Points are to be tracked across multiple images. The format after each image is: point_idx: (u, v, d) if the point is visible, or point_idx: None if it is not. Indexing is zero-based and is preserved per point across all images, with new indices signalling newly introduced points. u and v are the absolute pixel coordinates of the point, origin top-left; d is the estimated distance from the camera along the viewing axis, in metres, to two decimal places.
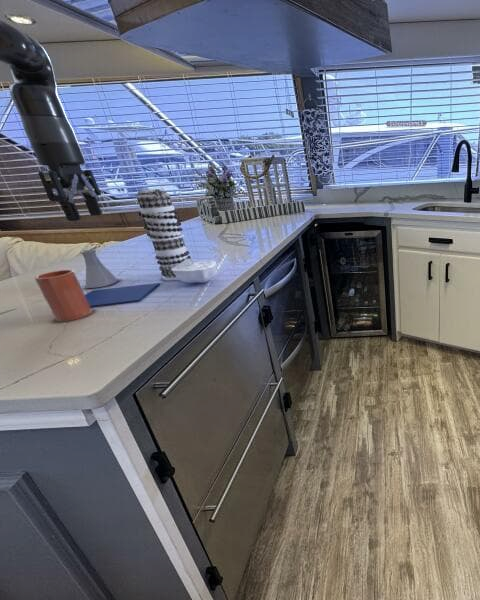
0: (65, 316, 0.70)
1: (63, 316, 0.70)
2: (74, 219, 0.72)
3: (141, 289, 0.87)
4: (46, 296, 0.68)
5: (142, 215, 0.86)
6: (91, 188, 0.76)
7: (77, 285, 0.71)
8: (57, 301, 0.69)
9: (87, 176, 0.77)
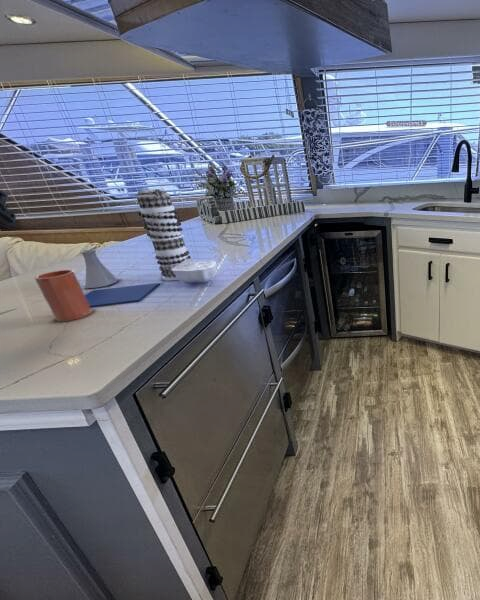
0: (65, 316, 0.70)
1: (63, 316, 0.70)
2: None
3: (141, 289, 0.87)
4: (46, 296, 0.68)
5: (142, 215, 0.86)
6: None
7: (77, 285, 0.71)
8: (57, 301, 0.69)
9: None
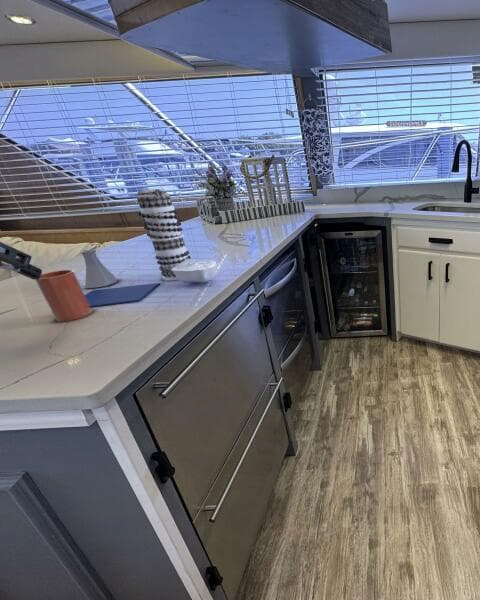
0: (65, 316, 0.70)
1: (63, 316, 0.70)
2: None
3: (141, 289, 0.87)
4: (46, 296, 0.68)
5: (142, 215, 0.86)
6: None
7: (77, 285, 0.71)
8: (57, 301, 0.69)
9: None
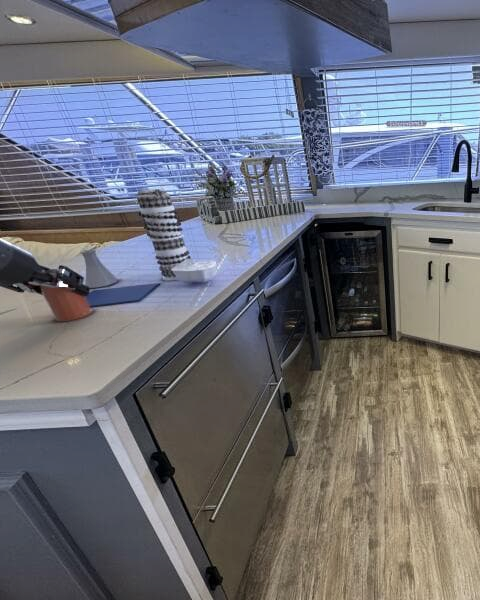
0: (65, 316, 0.70)
1: (63, 316, 0.70)
2: None
3: (141, 289, 0.87)
4: (46, 296, 0.68)
5: (142, 215, 0.86)
6: (54, 287, 0.66)
7: None
8: (57, 301, 0.69)
9: None
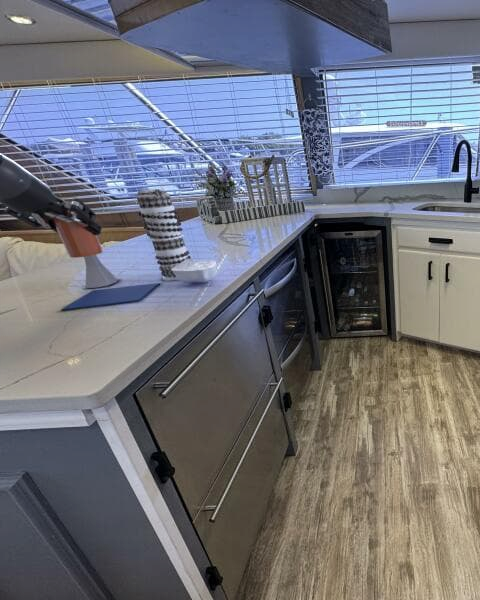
0: (78, 252, 0.73)
1: (76, 252, 0.73)
2: None
3: (141, 289, 0.87)
4: (60, 231, 0.71)
5: (142, 215, 0.86)
6: (68, 221, 0.70)
7: None
8: (71, 236, 0.72)
9: None
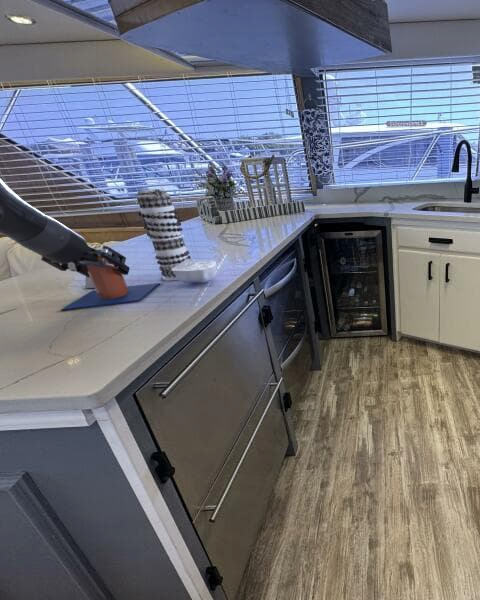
0: (108, 294, 0.80)
1: (106, 294, 0.80)
2: None
3: (141, 289, 0.87)
4: (92, 277, 0.78)
5: (142, 215, 0.86)
6: (101, 266, 0.76)
7: None
8: (102, 281, 0.79)
9: None
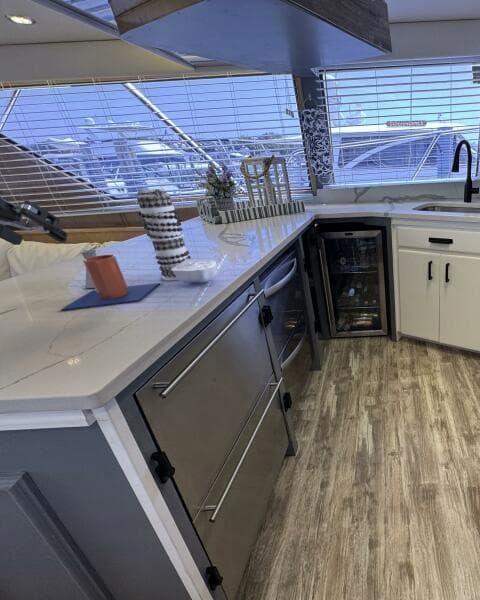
0: (108, 294, 0.80)
1: (106, 294, 0.80)
2: None
3: (141, 289, 0.87)
4: (92, 277, 0.78)
5: (142, 215, 0.86)
6: (25, 228, 0.60)
7: (118, 268, 0.81)
8: (102, 281, 0.79)
9: None
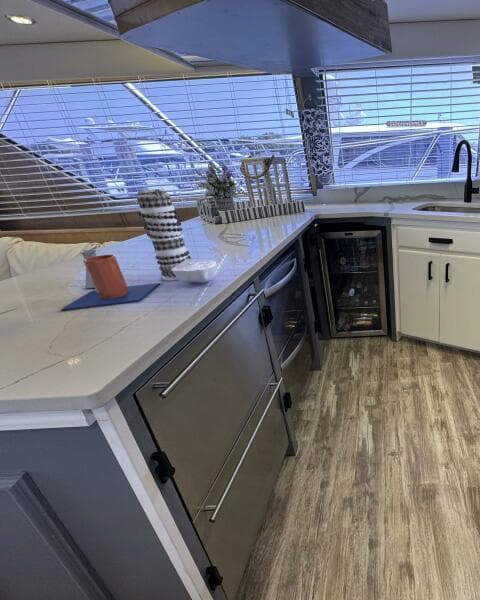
0: (108, 294, 0.80)
1: (106, 294, 0.80)
2: None
3: (141, 289, 0.87)
4: (92, 277, 0.78)
5: (142, 215, 0.86)
6: None
7: (118, 268, 0.81)
8: (102, 281, 0.79)
9: None
